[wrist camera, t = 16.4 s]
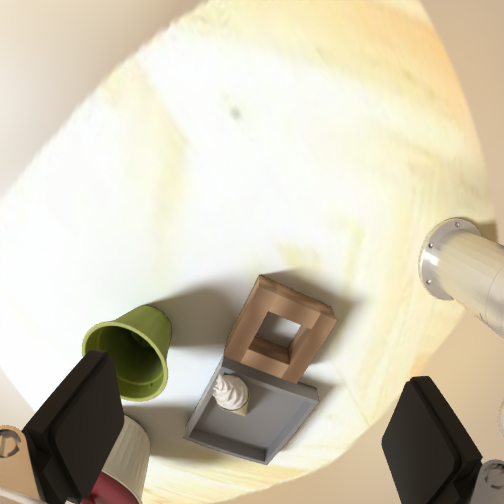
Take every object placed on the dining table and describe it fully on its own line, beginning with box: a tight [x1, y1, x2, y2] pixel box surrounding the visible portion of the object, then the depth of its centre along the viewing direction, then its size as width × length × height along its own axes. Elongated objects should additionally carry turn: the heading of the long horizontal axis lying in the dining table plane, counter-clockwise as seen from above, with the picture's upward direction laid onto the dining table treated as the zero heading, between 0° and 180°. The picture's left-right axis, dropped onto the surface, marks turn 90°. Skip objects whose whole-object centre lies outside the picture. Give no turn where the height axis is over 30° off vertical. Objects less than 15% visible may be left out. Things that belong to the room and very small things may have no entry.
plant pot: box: [82, 306, 172, 402], centre depth 41 cm, size 12×12×11 cm
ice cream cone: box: [213, 374, 250, 416], centre depth 44 cm, size 5×5×15 cm
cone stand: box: [223, 275, 337, 384], centre depth 44 cm, size 11×11×4 cm
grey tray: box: [183, 356, 319, 465], centre depth 48 cm, size 16×18×4 cm
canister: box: [81, 415, 150, 504], centre depth 43 cm, size 18×18×21 cm
